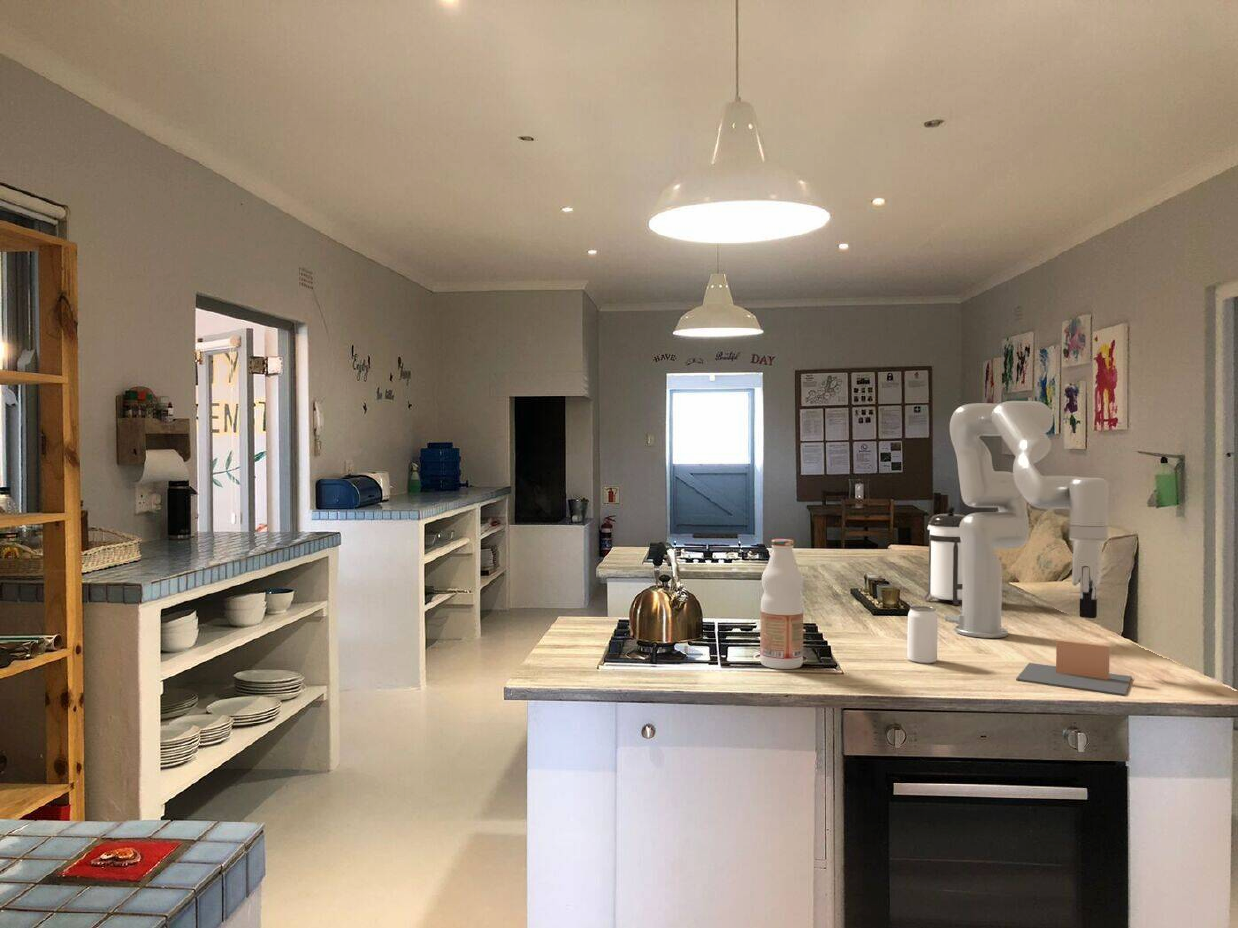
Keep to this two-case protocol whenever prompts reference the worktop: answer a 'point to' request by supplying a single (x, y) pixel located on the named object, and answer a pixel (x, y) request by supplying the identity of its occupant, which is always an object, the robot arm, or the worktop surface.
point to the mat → (1074, 680)
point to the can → (922, 635)
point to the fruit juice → (782, 609)
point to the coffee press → (945, 557)
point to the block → (1083, 659)
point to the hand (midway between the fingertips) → (1088, 617)
